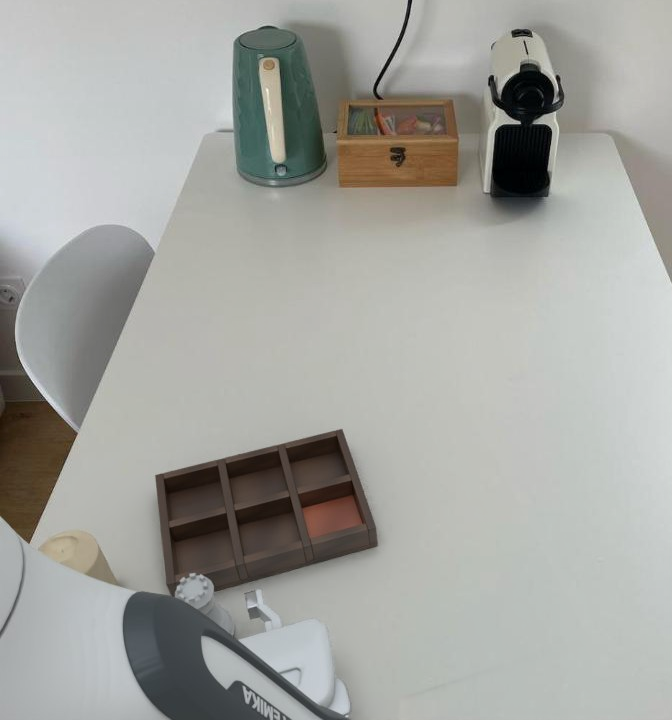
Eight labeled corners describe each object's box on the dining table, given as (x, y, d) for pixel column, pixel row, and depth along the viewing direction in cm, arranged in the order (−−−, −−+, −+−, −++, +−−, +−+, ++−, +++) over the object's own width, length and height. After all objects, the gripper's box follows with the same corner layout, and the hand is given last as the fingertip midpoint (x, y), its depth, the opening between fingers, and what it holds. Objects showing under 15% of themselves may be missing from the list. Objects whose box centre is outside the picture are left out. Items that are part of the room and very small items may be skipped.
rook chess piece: (191, 611, 74) (172, 562, 69) (239, 612, 74) (223, 563, 69) (180, 658, 71) (158, 610, 66) (230, 658, 71) (212, 610, 66)
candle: (122, 575, 78) (91, 512, 71) (126, 625, 74) (94, 563, 67) (63, 593, 76) (25, 530, 70) (64, 644, 72) (24, 583, 66)
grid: (174, 602, 75) (166, 584, 73) (162, 493, 85) (154, 474, 83) (378, 546, 79) (376, 527, 77) (344, 447, 89) (342, 428, 86)
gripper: (354, 709, 59) (314, 555, 69) (64, 801, 55) (65, 624, 65) (360, 745, 64) (321, 595, 73) (91, 832, 59) (88, 662, 69)
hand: (198, 609), depth 69 cm, fingers open, 8 cm apart
